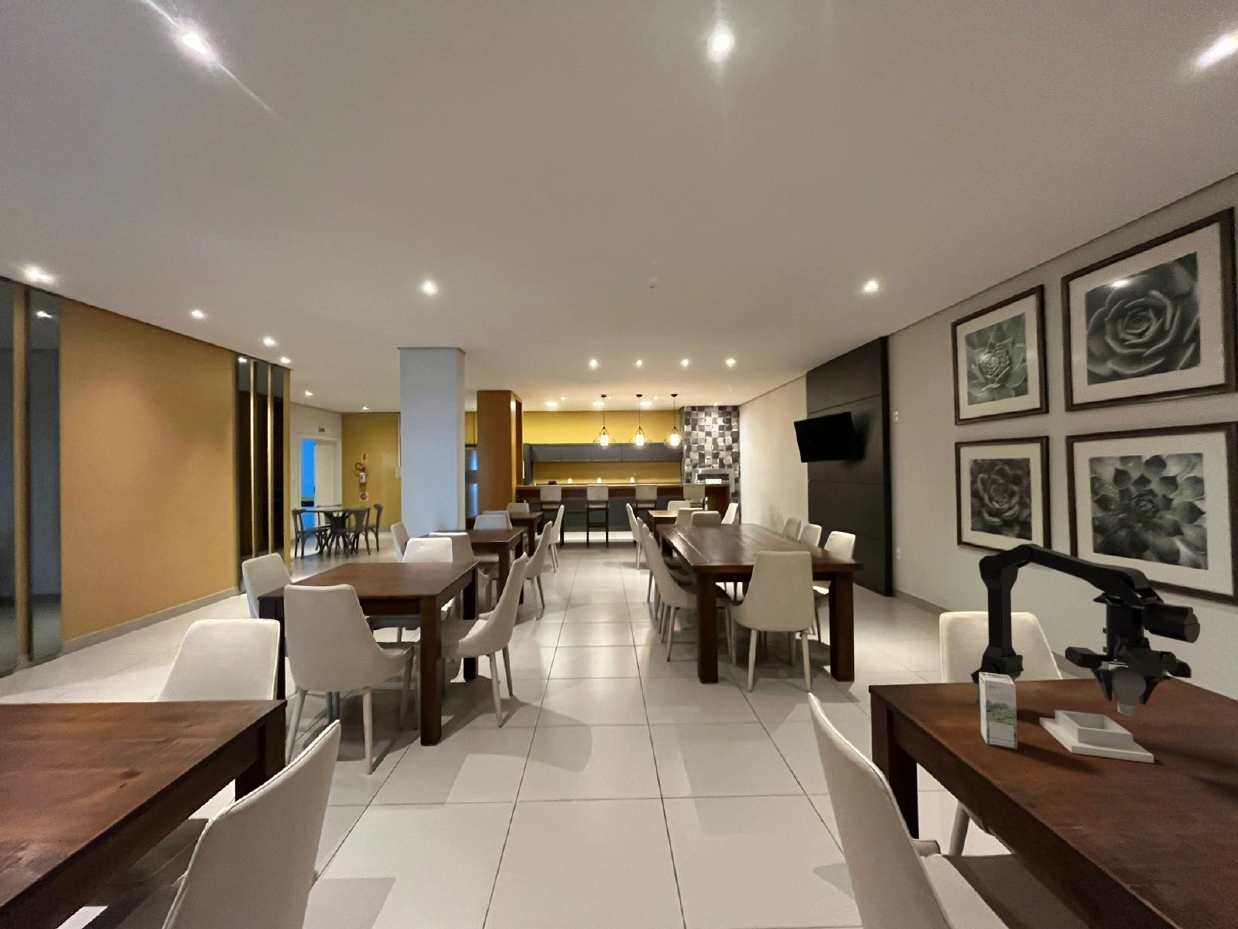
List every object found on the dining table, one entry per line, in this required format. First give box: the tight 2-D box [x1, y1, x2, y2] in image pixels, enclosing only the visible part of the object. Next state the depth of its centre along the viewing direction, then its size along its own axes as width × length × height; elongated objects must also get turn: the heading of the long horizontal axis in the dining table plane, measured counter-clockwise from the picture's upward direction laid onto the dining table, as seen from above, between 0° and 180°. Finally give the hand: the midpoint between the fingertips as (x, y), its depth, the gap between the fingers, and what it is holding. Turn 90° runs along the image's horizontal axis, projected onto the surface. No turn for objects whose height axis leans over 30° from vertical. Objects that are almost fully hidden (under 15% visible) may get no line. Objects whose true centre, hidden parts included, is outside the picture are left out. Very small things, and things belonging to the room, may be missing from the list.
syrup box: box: [979, 672, 1018, 750], centre depth 115 cm, size 6×6×14 cm
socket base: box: [1039, 709, 1155, 764], centre depth 114 cm, size 14×14×4 cm
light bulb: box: [1109, 665, 1146, 717], centre depth 107 cm, size 6×6×10 cm
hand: (1125, 702), depth 107 cm, fingers closed on light bulb, 5 cm apart
